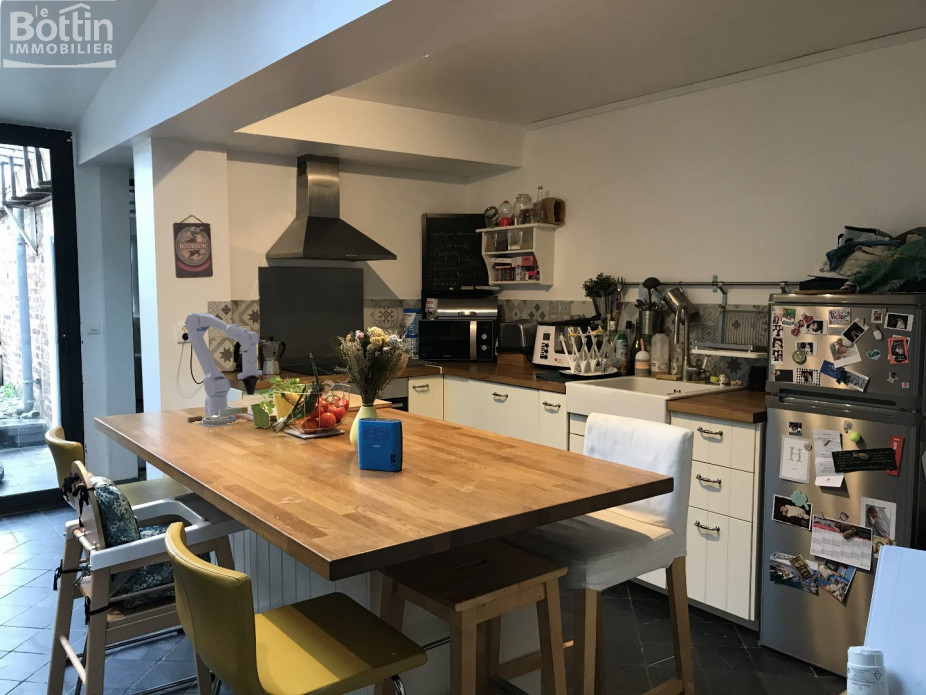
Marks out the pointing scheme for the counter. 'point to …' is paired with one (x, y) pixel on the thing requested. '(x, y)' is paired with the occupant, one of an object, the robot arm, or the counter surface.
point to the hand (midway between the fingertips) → (250, 394)
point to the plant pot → (259, 416)
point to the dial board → (217, 422)
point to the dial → (228, 413)
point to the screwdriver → (196, 418)
